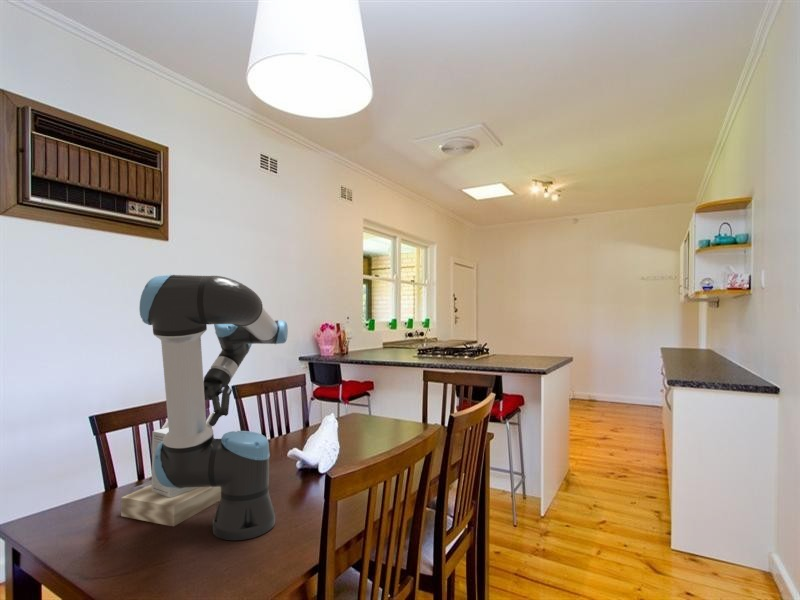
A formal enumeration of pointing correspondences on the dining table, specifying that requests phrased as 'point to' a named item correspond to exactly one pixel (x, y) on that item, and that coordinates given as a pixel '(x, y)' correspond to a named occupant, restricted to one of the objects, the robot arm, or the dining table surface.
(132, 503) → the birch stacking block
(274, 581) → the dining table surface
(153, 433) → the supplement box
